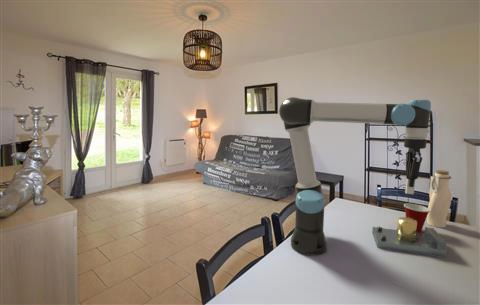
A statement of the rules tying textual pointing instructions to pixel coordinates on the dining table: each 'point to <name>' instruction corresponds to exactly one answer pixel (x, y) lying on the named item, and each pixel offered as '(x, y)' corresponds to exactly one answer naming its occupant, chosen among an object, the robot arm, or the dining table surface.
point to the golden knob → (406, 229)
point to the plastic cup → (417, 214)
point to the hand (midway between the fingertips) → (409, 193)
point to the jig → (422, 245)
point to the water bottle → (439, 199)
